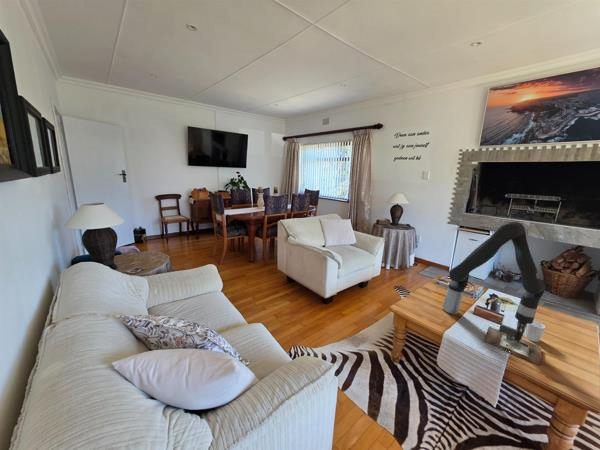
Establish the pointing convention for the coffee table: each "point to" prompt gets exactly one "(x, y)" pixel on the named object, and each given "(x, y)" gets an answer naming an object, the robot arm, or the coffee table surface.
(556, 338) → the coffee table surface
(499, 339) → the tuner board
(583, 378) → the coffee table surface
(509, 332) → the peg key
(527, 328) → the white cup
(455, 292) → the robot arm
